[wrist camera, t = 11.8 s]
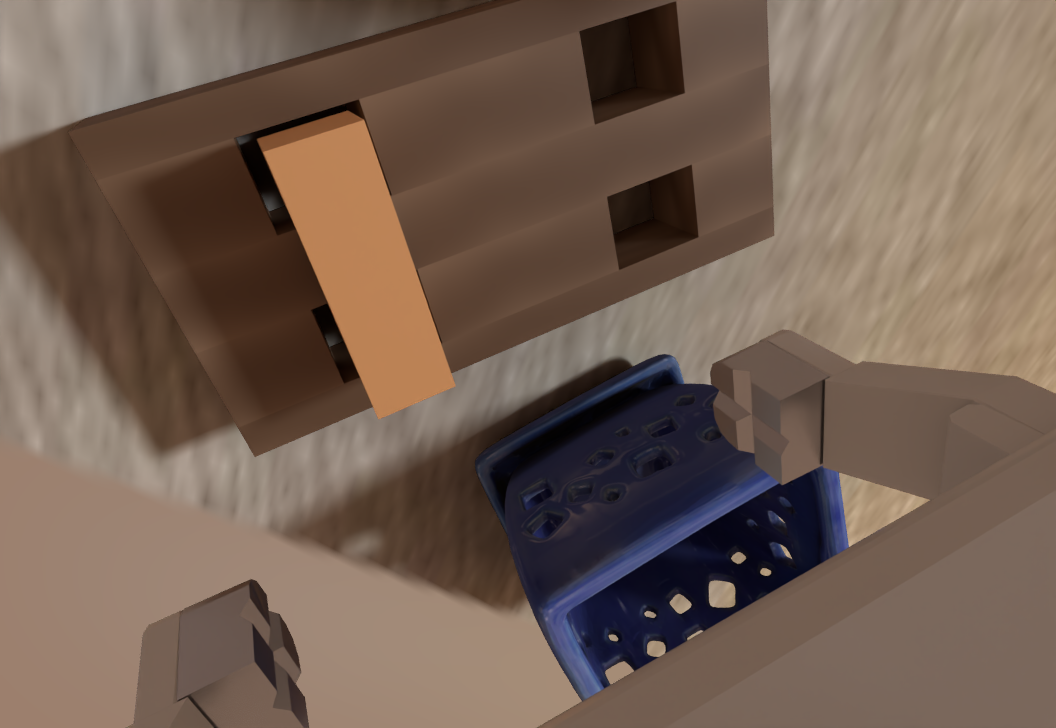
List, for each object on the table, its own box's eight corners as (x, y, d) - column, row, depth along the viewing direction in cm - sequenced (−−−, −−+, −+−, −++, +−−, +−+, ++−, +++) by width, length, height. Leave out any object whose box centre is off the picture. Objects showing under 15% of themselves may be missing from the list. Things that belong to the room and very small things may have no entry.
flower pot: (524, 601, 39) (630, 791, 29) (434, 440, 32) (535, 621, 22) (707, 485, 42) (862, 626, 32) (662, 311, 34) (844, 423, 25)
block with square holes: (85, 118, 21) (67, 132, 19) (705, -61, 27) (764, -71, 24) (249, 412, 28) (254, 456, 25) (725, 217, 33) (774, 235, 31)
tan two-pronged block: (405, 314, 29) (455, 385, 23) (342, 339, 28) (378, 419, 22) (325, 97, 24) (364, 119, 18) (248, 121, 23) (262, 152, 18)
